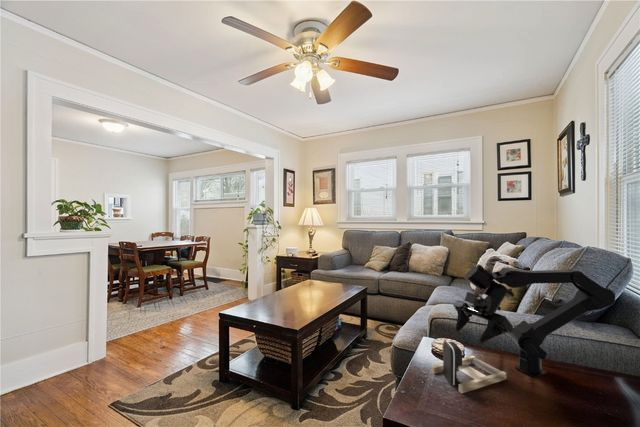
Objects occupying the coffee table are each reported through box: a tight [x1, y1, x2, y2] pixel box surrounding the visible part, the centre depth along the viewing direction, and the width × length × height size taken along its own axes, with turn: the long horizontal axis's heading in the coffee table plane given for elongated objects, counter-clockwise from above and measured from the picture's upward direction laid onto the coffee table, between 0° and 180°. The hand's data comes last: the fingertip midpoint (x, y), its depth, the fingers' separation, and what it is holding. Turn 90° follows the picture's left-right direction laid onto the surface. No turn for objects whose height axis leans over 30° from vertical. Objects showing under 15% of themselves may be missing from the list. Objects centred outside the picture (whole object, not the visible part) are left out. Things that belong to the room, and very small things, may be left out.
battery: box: [442, 340, 463, 386], centre depth 94 cm, size 7×4×11 cm, turn 178°
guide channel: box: [430, 355, 507, 394], centre depth 96 cm, size 19×12×2 cm, turn 112°
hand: (467, 336), depth 96 cm, fingers open, 9 cm apart
